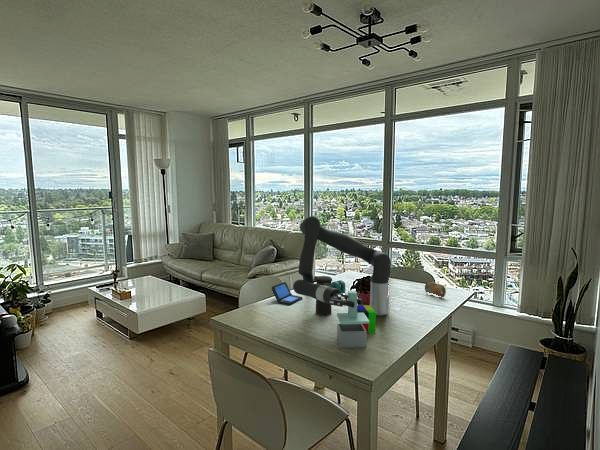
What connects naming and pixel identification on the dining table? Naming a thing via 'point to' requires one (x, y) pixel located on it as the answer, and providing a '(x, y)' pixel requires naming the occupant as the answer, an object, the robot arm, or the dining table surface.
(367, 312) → the puzzle toy
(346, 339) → the tub
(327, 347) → the dining table surface
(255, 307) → the dining table surface
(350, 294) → the lid
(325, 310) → the container
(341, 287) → the teal rounded piece
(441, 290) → the wooden scrub brush
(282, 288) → the handheld game console
